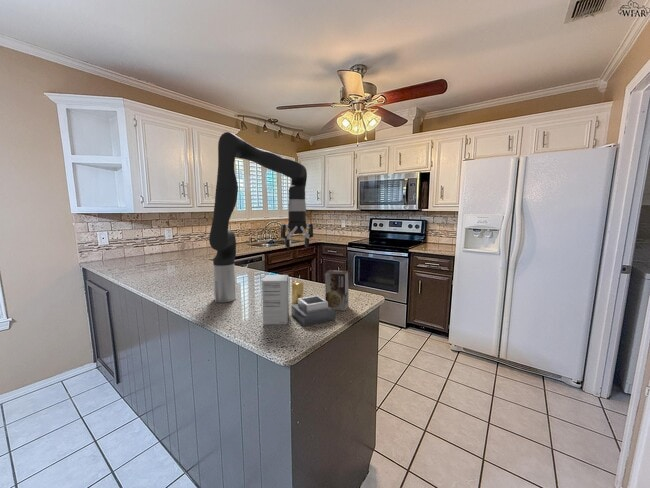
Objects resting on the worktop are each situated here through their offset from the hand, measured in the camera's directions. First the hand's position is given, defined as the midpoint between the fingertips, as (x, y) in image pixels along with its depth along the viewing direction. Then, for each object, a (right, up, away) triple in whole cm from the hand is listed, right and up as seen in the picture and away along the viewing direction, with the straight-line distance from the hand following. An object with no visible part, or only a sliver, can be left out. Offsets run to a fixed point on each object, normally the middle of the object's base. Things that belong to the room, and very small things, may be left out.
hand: (297, 247), depth 119 cm
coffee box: (+17, -27, 0) cm, 32 cm away
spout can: (-1, -26, +4) cm, 26 cm away
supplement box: (-7, -28, -14) cm, 32 cm away
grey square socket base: (+7, -28, -11) cm, 31 cm away
